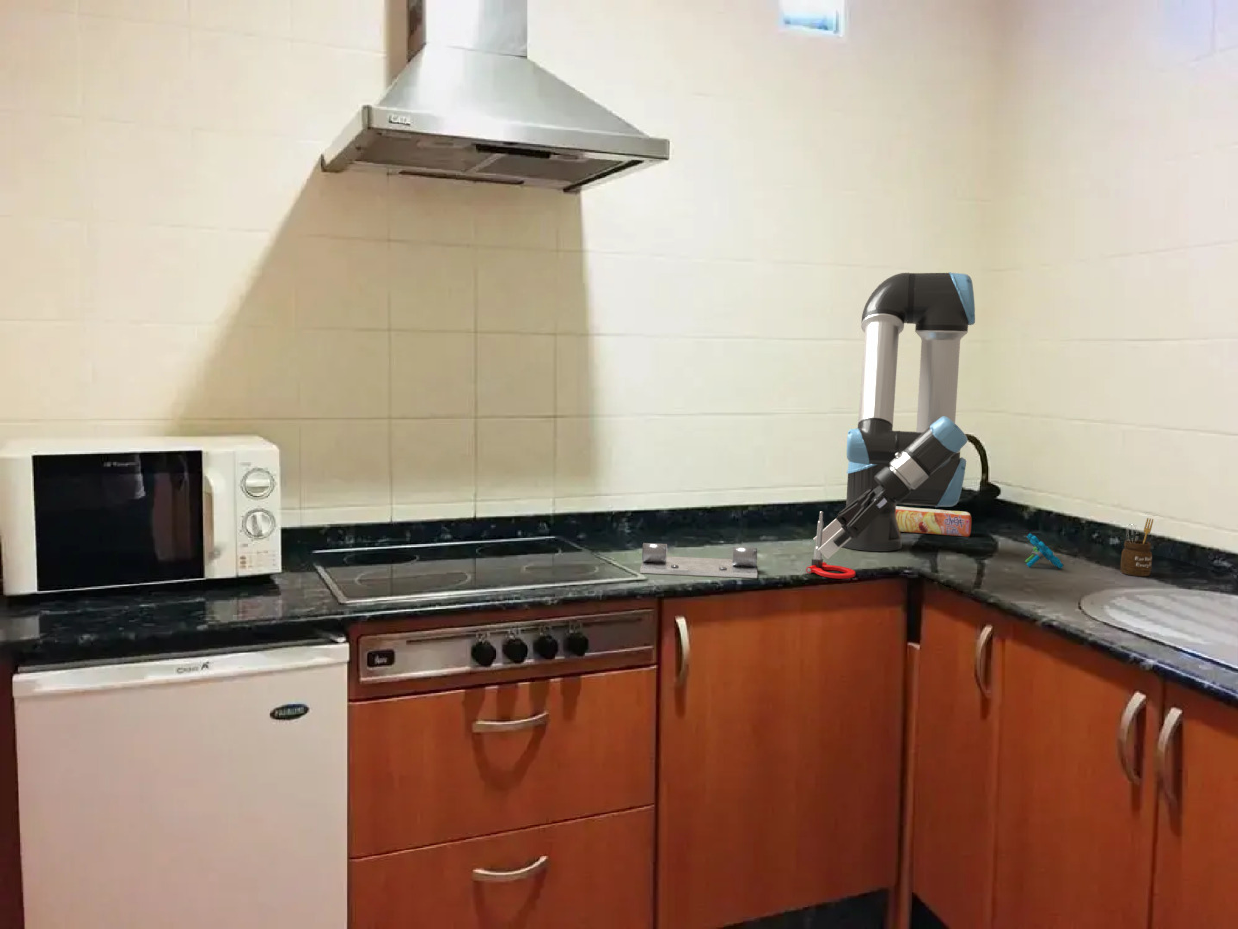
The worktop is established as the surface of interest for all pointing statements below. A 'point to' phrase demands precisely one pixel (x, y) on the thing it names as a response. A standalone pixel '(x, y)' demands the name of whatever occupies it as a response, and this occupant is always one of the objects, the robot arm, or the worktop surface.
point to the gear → (1041, 553)
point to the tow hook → (819, 564)
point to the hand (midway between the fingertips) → (820, 548)
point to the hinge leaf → (699, 563)
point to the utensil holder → (1137, 555)
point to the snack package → (933, 521)
